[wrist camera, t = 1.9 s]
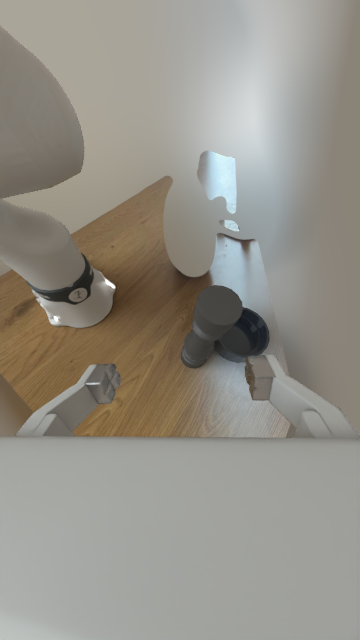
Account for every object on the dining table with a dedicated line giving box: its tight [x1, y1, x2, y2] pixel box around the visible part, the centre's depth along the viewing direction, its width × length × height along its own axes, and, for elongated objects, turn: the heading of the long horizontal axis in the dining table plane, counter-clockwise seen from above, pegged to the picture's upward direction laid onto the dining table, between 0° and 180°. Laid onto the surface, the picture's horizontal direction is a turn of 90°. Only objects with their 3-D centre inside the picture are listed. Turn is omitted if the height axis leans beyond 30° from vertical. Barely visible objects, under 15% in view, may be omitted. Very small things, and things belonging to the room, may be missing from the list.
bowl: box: [214, 307, 269, 363], centre depth 44 cm, size 13×13×6 cm
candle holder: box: [181, 285, 243, 368], centre depth 33 cm, size 6×6×25 cm
